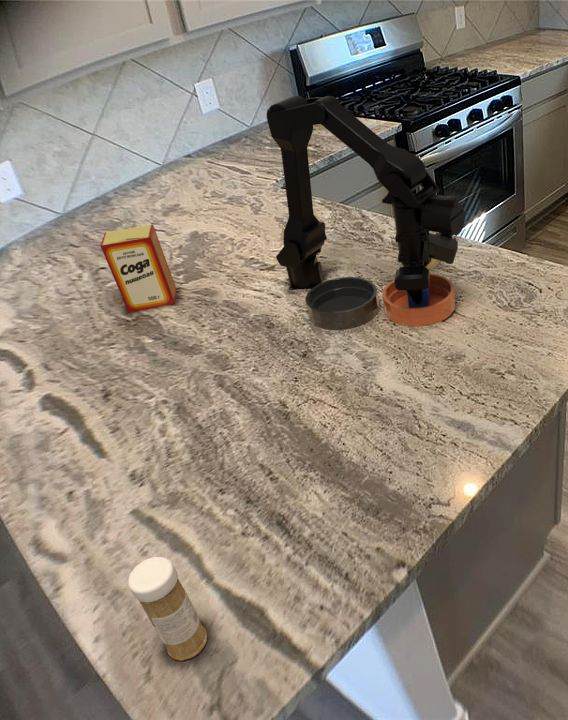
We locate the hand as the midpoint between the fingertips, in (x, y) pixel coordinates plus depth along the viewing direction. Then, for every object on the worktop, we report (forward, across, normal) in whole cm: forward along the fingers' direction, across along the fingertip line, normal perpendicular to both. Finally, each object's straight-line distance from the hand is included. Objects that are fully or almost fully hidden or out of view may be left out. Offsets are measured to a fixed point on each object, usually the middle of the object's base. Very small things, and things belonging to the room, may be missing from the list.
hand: (418, 298), depth 133 cm
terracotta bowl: (+3, 0, 0) cm, 3 cm away
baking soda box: (+3, +9, +59) cm, 60 cm away
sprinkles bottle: (+3, -72, +23) cm, 76 cm away
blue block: (+1, 0, 0) cm, 1 cm away
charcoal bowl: (+3, 0, +16) cm, 16 cm away
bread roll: (+3, +20, +1) cm, 20 cm away
